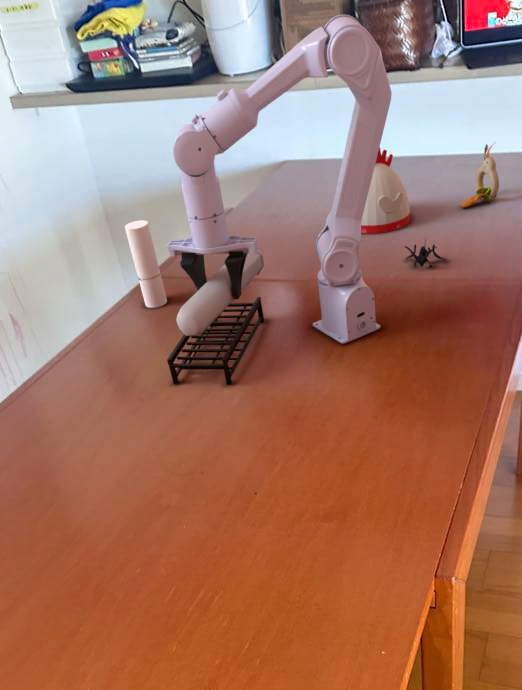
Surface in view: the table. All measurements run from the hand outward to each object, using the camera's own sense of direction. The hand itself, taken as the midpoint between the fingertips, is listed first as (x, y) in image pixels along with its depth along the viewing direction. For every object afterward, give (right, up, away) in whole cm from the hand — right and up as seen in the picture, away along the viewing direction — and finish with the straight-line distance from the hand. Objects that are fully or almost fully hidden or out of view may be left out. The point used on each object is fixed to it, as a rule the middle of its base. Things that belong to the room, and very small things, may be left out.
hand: (221, 297), depth 126 cm
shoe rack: (0, -8, +4) cm, 9 cm away
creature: (+37, +13, +21) cm, 44 cm away
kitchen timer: (+30, +29, +40) cm, 58 cm away
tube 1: (-15, +6, +22) cm, 27 cm away
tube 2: (0, -1, +1) cm, 2 cm away
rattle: (+52, +34, +42) cm, 75 cm away
